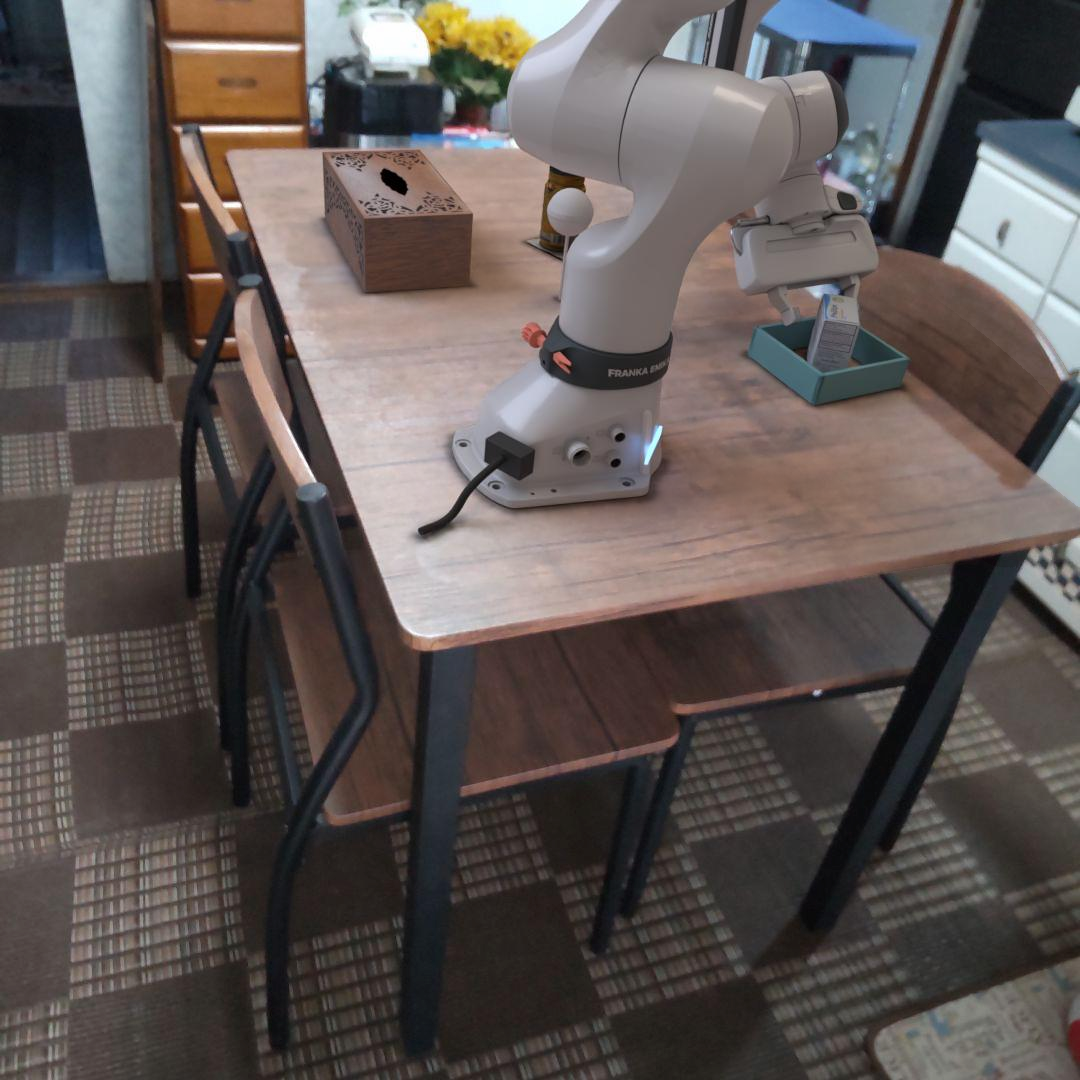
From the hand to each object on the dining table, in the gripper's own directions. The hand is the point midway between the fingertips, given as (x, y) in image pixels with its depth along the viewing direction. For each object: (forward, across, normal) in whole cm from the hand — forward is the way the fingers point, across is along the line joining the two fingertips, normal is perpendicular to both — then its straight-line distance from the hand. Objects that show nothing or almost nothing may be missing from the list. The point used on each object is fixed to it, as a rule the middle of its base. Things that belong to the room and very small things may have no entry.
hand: (823, 318), depth 124 cm
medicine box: (+6, 0, +3) cm, 7 cm away
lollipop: (-14, -23, +22) cm, 35 cm away
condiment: (-25, -14, +34) cm, 44 cm away
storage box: (+6, 0, +2) cm, 6 cm away
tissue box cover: (-28, -39, +37) cm, 61 cm away
